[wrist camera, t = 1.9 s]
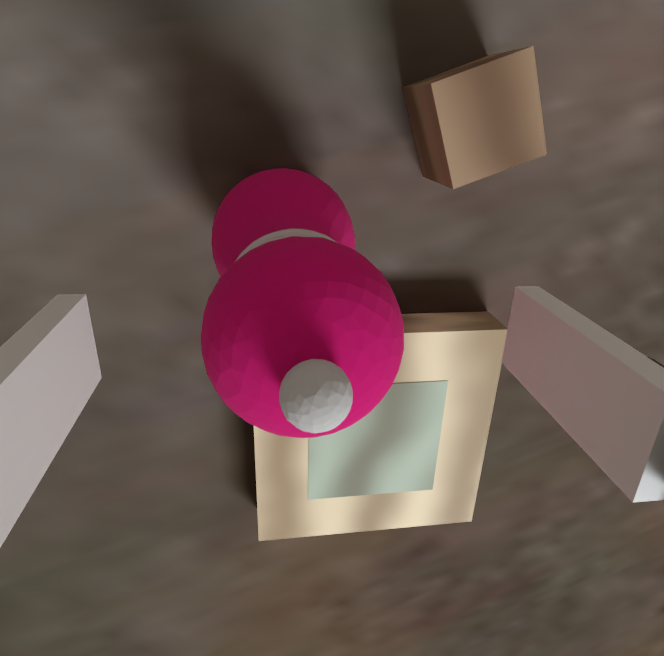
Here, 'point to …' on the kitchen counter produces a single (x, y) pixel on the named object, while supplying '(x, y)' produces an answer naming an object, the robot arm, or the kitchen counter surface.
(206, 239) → the kitchen counter surface
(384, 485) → the base plate
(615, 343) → the robot arm
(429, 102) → the block
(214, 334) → the pepper mill
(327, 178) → the kitchen counter surface
